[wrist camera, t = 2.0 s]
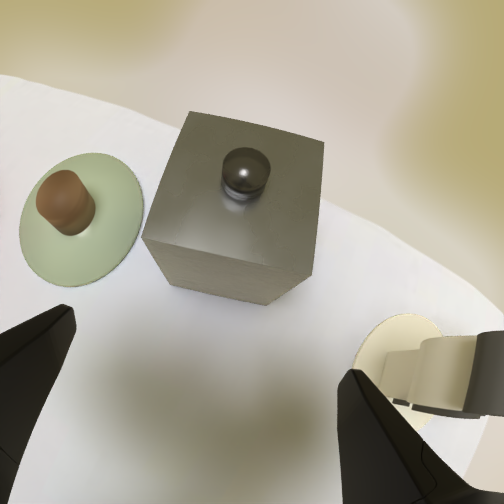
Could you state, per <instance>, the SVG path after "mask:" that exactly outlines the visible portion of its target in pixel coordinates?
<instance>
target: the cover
mask: <svg viewBox="0 0 504 504" xmlns="http://www.w3.org/2000/svg"><path fill="white" fill-rule="evenodd" d="M323 153H324V142H322V141H318V140H315V139H312V138H308V137H305V136H301V135H297V134H294V133H290V132H286V131H282V130H279V129H275V128H271V127H267V126H263V125H258V124H254V123H249V122H245V121H240V120H235V119H231V118H226V117H221V116H215V115H210V114H204V113H198V112H192V111H190V112H189V114H188V116H187V118H186V121H185V123H184V125H183V127H182V129H181V132H180V134H179V136H178V139H177V141H176V143H175V146H174V148H173V151H172V153H171V155H170V158H169V160H168V163H167V166H166V168H165V171H164V173H163V176H162V178H161V181H160V184H159V186H158V189H157V192H156V195H155V197H154V200H153V203H152V206H151V209H150V212H149V215H148V218H147V221H146V224H145V227H144V230H143V233H142V236H141V238H142V240H143V241H144V243H145V245H146V246H147V248H148V250H149V251H150V253H151V255H152V256H153V258H154V260H155V261H156V263H157V265H158V266H159V268H160V270H161V271H162V273H163V274H164V276H165V278H166V279H167V281H168V282H169V284H170V285H173V286H178V287H182V288H186V289H190V290H195V291H199V292H203V293H208V294H212V295H217V296H221V297H226V298H231V299H235V300H240V301H245V302H250V303H255V304H259V305H264V306H267V305H268V304H270V303H271V302H273V301H274V300H276V299H277V298H279V297H280V296H282V295H283V294H285V293H286V292H288V291H289V290H291V289H292V288H294V287H295V286H297V285H298V284H300V283H301V282H303V281H304V280H306V279H307V278H308V277H310V276H311V275H312V269H313V261H314V252H315V244H316V235H317V225H318V216H319V205H320V194H321V182H322V169H323Z"/></svg>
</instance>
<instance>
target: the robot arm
mask: <svg viewBox="0 0 504 504" xmlns="http://www.w3.org/2000/svg"><path fill="white" fill-rule="evenodd" d="M75 333H76V321H75V315H74V310H73V308H72V307H70V306H67V305H65V304H60V305H58V306H56V307H54V308H52V309H50V310H48V311H45V312H43V313H41V314H39V315H37V316H35V317H33V318H31V319H29V320H27V321H25V322H23V323H21V324H19V325H17V326H15V327H13V328H11V329H9V330H7V331H5V332H3V333H1V334H0V504H8V500H9V496H10V493H11V490H12V487H13V483H14V480H15V477H16V474H17V471H18V468H19V465H20V462H21V459H22V457H23V454H24V451H25V449H26V446H27V444H28V441H29V438H30V436H31V434H32V431H33V429H34V426H35V424H36V422H37V419H38V417H39V415H40V412H41V410H42V408H43V406H44V404H45V401H46V399H47V397H48V395H49V393H50V391H51V389H52V387H53V385H54V383H55V381H56V379H57V377H58V374H59V372H60V370H61V368H62V365H63V363H64V360H65V358H66V355H67V353H68V350H69V347H70V345H71V343H72V340H73V338H74V335H75ZM337 431H338V443H339V454H340V466H341V480H342V497H343V504H504V493H499V492H490V491H483V490H479V489H476V488H474V487H472V486H470V485H469V484H467V483H466V482H465V481H464V480H463V479H462V478H461V477H460V476H459V475H457V474H456V473H455V472H454V471H453V470H452V469H451V468H450V467H449V466H448V465H447V464H446V463H445V462H444V461H443V460H442V459H441V458H440V457H439V456H438V455H437V454H436V453H435V452H434V451H433V450H432V449H431V448H430V447H429V445H428V444H427V443H426V442H425V441H423V439H422V438H421V436H420V435H419V434H418V433H417V432H416V431H415V430H414V428H413V427H412V426H411V425H410V424H409V423H408V422H407V420H406V419H405V418H404V417H403V416H402V415H401V414H400V413H399V411H398V410H397V409H396V408H395V407H394V406H393V405H392V403H391V402H390V401H389V400H388V399H387V398H386V397H385V395H384V394H383V393H382V392H381V391H380V390H379V389H378V388H377V386H376V385H375V384H374V383H373V382H372V381H371V380H370V378H369V377H368V376H367V375H366V374H365V373H364V372H363V371H362V370H360V369H349V370H348V371H347V373H346V374H345V376H344V377H343V379H342V380H341V382H340V383H339V385H338V390H337Z"/></svg>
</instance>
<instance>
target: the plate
mask: <svg viewBox="0 0 504 504" xmlns="http://www.w3.org/2000/svg"><path fill="white" fill-rule="evenodd" d="M60 170H71V171H73V172H75V173H76V174H77V175H78V177H79V178H80V180H81V181H82V183H83V184H84V186H85V187H86V189H87V190H88V192H89V193H90V195H91V196H92V198H93V200H94V202H95V215H94V218H93V220H92V222H91V224H90V225H89V226H88V227H87V228H86V229H85V230H84V231H83V232H81V233H80V234H77V235H74V236H66V235H63V234H62V233H60V232H59V231H58V230H57V229H56V228H55V227H53V226H52V225H51V224H50V223H49V222H48V221H47V220H46V219H45V218H44V217H42V216H41V215H40V214H39V212H38V210H37V208H36V196H37V192H38V190H39V188H40V186H41V184H42V183H43V182H44V181H45V179H46V178H47V177H49V176H50V175H51V174H53V173H55V172H57V171H60ZM142 215H143V199H142V193H141V190H140V186H139V184H138V181H137V179H136V177H135V175H134V174H133V172H132V171H131V169H130V168H129V167H128V166H127V165H126V164H125V163H123V162H122V161H120V160H119V159H117V158H115V157H113V156H110V155H107V154H101V153H86V154H81V155H77V156H74V157H71V158H68V159H66V160H64V161H62V162H61V163H59V164H57V165H56V166H54V167H53V168H52V169H50V170H49V171H48V172H47V173H46V174H45V175H44V176H43V177H42V178H41V179H40V180H39V181H38V183H37V184H36V185H35V187H34V188H33V190H32V191H31V193H30V195H29V196H28V198H27V201H26V203H25V205H24V208H23V211H22V215H21V219H20V227H19V238H20V245H21V249H22V253H23V255H24V258H25V260H26V262H27V263H28V265H29V267H30V268H31V269H32V270H33V272H35V273H36V274H37V275H38V276H39V277H41V278H42V279H44V280H45V281H48V282H50V283H52V284H55V285H58V286H63V287H77V286H82V285H86V284H89V283H92V282H94V281H97V280H98V279H100V278H102V277H104V276H105V275H107V274H108V273H109V272H110V271H112V270H113V269H114V268H115V267H116V266H117V265H118V264H119V263H120V262H121V261H122V260H123V259H124V257H125V256H126V255H127V253H128V252H129V250H130V249H131V247H132V245H133V243H134V241H135V239H136V237H137V235H138V232H139V229H140V226H141V221H142Z"/></svg>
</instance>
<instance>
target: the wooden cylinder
mask: <svg viewBox="0 0 504 504" xmlns="http://www.w3.org/2000/svg"><path fill="white" fill-rule="evenodd" d="M36 208H37V210H38V212H39V214H40V215H41V216H42V217H44V218H45V219H46V220H47V221H48V222H49V223H50V224H51V225H52V226H53V227H55V228H56V229H57V230H58V231H59V232H60V233H62V234H63V235H66V236H74V235H77V234H80V233H81V232H83V231H84V230H85V229H86V228H87V227H88V226H89V225H90V224H91V222H92V220H93V218H94V215H95V202H94V200H93V198H92V196H91V195H90V193H89V192H88V190H87V189H86V187H85V186H84V184H83V183H82V181H81V180H80V178H79V177H78V175H77V174H76V173H75V172H73V171H71V170H60V171H57V172H55V173H53V174H51V175H50V176H49V177H47V178H46V179H45V181H44V182H43V183H42V184H41V186H40V188H39V190H38V192H37V196H36Z"/></svg>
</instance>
